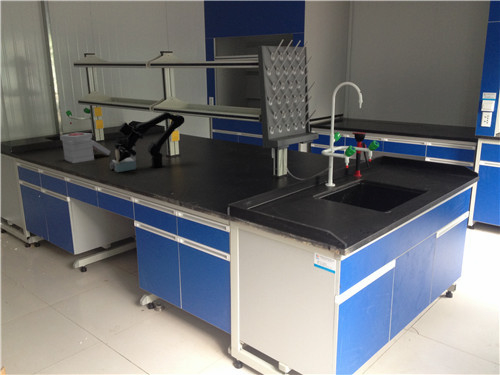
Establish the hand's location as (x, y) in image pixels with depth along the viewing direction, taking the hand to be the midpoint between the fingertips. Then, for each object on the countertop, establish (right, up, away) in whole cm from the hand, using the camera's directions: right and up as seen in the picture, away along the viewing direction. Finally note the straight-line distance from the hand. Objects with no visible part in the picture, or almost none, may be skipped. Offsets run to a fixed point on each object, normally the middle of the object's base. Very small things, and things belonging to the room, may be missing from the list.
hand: (117, 160), depth 265 cm
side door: (+4, -5, +7) cm, 10 cm away
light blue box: (+1, -4, +12) cm, 13 cm away
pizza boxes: (-35, +4, +44) cm, 56 cm away
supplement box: (-2, +1, +31) cm, 31 cm away
